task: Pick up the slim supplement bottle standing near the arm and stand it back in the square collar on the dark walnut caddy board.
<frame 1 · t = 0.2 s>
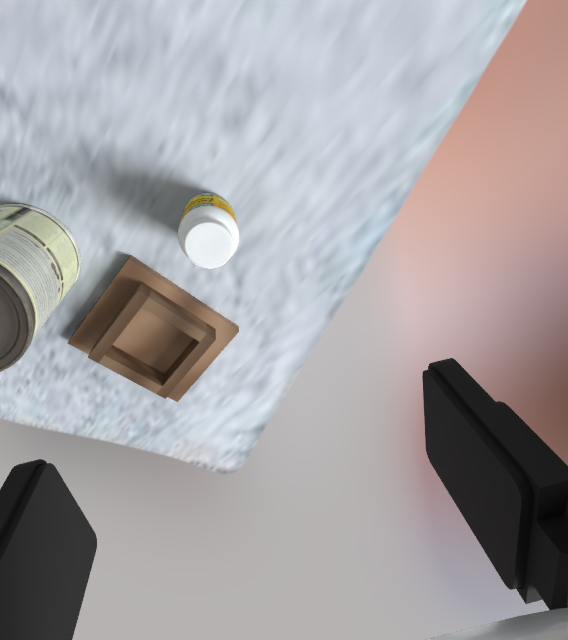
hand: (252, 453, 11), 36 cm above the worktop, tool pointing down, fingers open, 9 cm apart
caddy: (156, 331, 49), on the worktop
coffee can: (28, 254, 43), on the worktop
supplement bottle: (209, 218, 44), on the worktop
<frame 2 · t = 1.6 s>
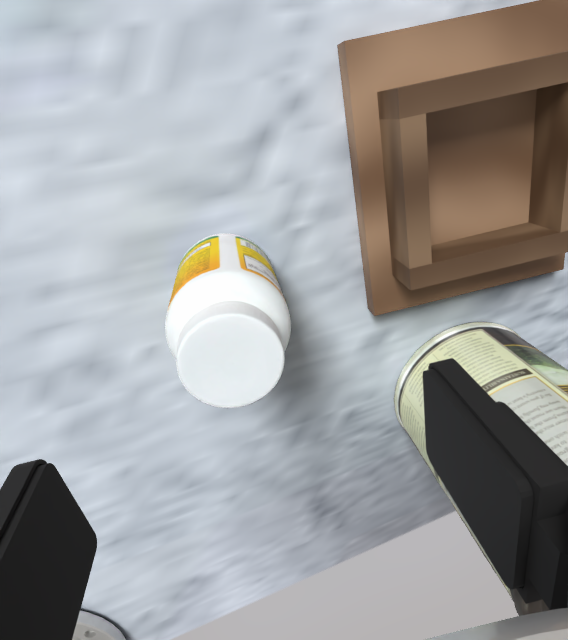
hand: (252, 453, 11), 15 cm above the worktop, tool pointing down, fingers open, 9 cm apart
caddy: (458, 170, 24), on the worktop
coffee can: (460, 384, 31), on the worktop
supplement bottle: (225, 277, 24), on the worktop
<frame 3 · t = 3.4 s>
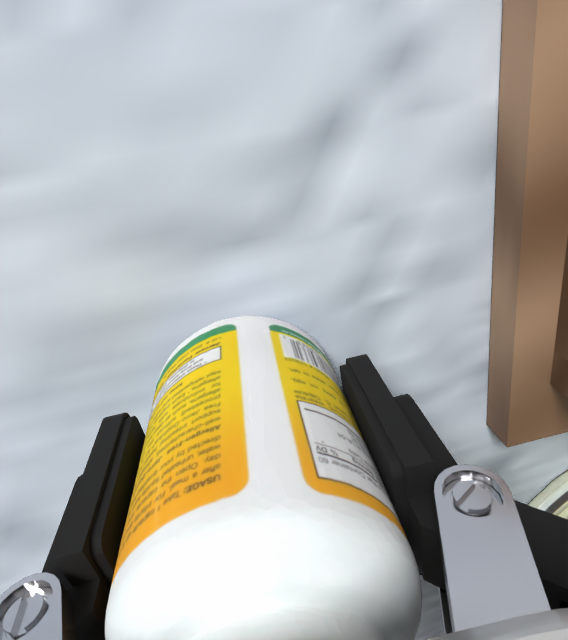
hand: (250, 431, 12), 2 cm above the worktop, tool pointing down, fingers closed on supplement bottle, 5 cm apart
supplement bottle: (245, 384, 13), on the worktop, touching gripper
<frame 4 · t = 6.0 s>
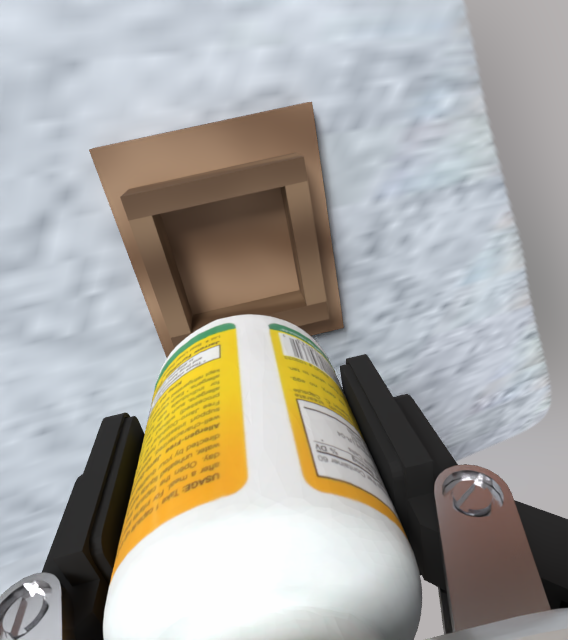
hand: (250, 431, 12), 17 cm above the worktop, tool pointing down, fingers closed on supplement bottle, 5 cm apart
caddy: (232, 245, 27), on the worktop
supplement bottle: (244, 383, 13), point 15 cm above the worktop, touching gripper
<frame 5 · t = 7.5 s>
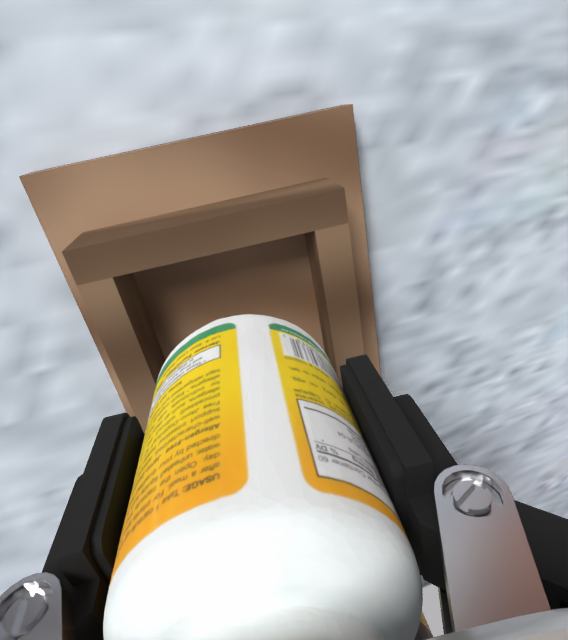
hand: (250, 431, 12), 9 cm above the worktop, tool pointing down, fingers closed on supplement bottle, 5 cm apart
caddy: (234, 302, 19), on the worktop
supplement bottle: (244, 383, 13), point 7 cm above the worktop, touching gripper
when the fingers open (5 cm above the worktop, at t = 8.7 s): supplement bottle drops 2 cm, resting on caddy.
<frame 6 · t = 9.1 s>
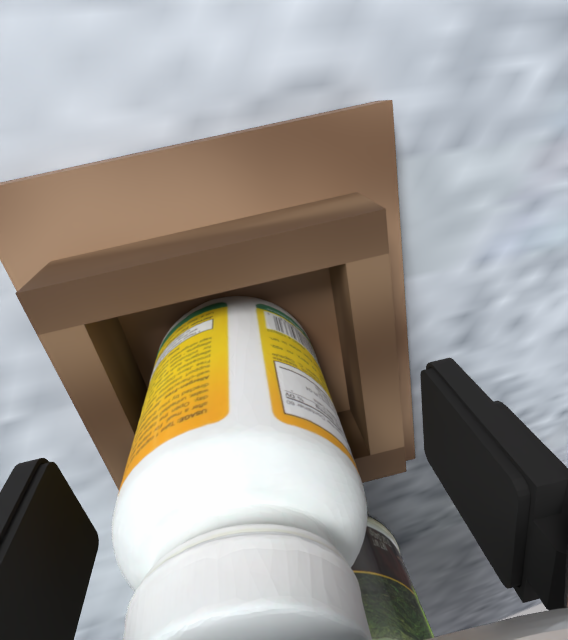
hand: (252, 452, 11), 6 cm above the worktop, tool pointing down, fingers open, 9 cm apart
caddy: (240, 339, 16), on the worktop
coffee can: (305, 570, 23), on the worktop
supplement bottle: (235, 358, 15), point 1 cm above the worktop, touching caddy
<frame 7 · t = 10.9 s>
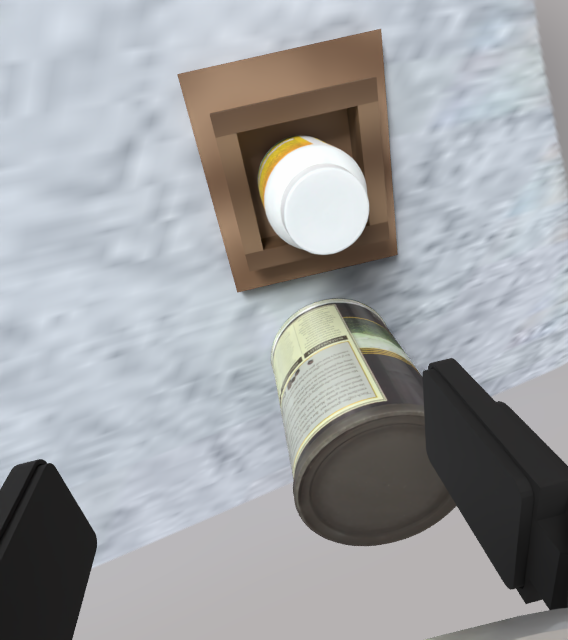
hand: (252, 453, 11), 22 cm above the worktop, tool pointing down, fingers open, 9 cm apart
caddy: (298, 172, 29), on the worktop
coffee can: (329, 351, 36), on the worktop
supplement bottle: (296, 178, 28), point 1 cm above the worktop, touching caddy
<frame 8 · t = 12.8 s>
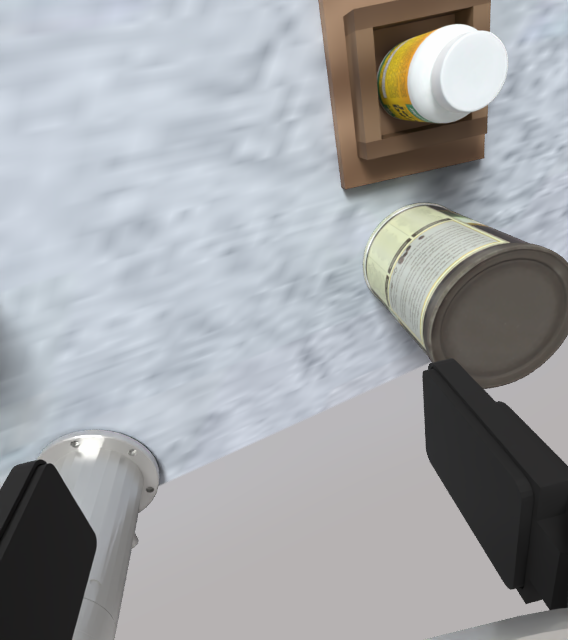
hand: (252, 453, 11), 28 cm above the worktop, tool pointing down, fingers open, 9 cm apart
caddy: (404, 79, 33), on the worktop
coffee can: (413, 256, 40), on the worktop
supplement bottle: (406, 81, 33), point 1 cm above the worktop, touching caddy
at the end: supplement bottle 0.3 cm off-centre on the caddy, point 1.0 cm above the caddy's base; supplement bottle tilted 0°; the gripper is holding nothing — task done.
